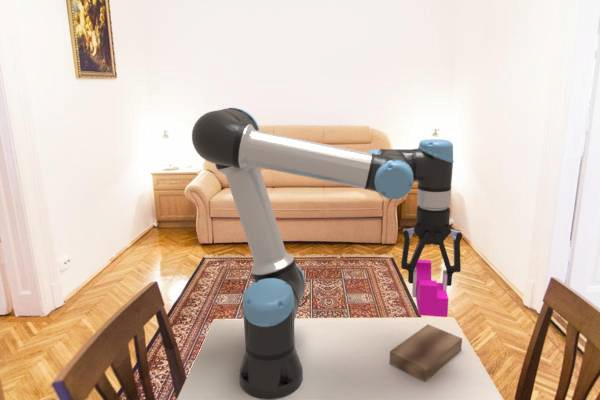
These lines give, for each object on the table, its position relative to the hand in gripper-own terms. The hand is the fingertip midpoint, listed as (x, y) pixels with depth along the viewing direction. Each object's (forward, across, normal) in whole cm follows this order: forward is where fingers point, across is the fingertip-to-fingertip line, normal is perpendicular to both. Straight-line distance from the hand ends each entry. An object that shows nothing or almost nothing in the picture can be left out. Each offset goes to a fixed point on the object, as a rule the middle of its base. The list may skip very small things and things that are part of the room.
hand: (428, 295), depth 108 cm
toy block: (+1, 0, +2) cm, 2 cm away
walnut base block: (+18, 0, 0) cm, 18 cm away
